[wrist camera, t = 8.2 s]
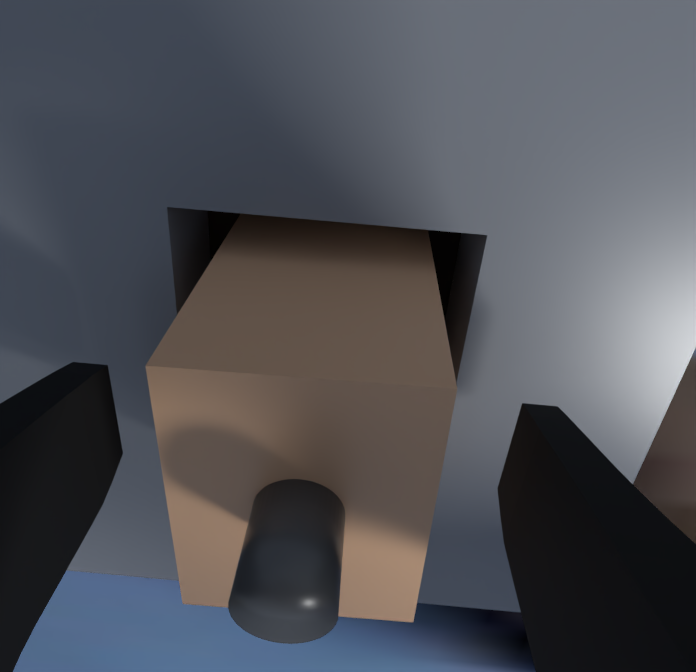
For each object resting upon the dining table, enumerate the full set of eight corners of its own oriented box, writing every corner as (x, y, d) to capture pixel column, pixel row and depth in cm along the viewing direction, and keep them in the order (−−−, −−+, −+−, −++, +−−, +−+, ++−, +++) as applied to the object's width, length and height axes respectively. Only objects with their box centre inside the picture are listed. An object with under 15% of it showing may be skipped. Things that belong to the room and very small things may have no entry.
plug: (426, 223, 12) (474, 481, 6) (402, 405, 15) (418, 723, 9) (242, 210, 13) (91, 451, 6) (250, 394, 15) (150, 702, 9)
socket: (753, -1, 10) (853, 2, 8) (548, 539, 17) (571, 617, 15) (-49, -69, 10) (-165, -83, 8) (84, 496, 17) (42, 568, 15)
